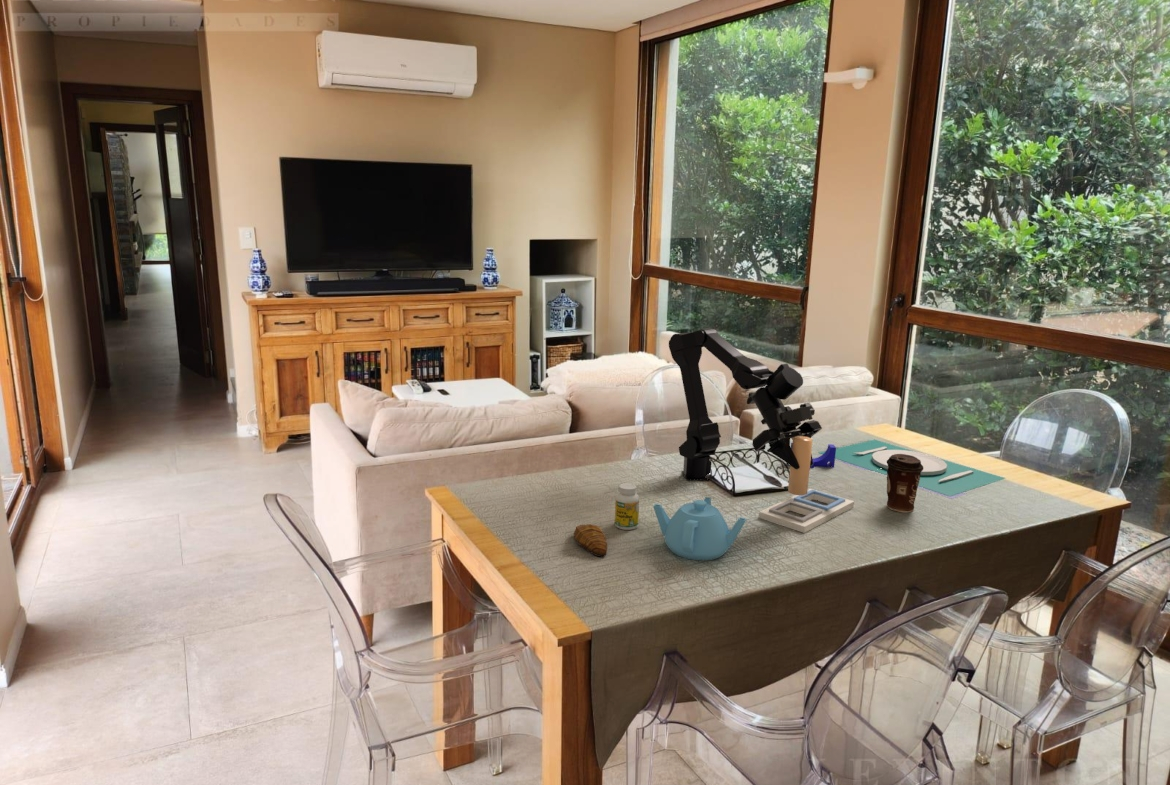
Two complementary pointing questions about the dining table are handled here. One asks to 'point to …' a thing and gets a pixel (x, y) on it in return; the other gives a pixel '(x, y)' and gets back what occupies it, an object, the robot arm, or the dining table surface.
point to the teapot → (697, 530)
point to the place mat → (934, 475)
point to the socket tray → (806, 510)
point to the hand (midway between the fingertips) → (804, 466)
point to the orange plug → (803, 456)
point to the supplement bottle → (627, 507)
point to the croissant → (591, 539)
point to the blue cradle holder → (825, 458)
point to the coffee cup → (902, 482)
